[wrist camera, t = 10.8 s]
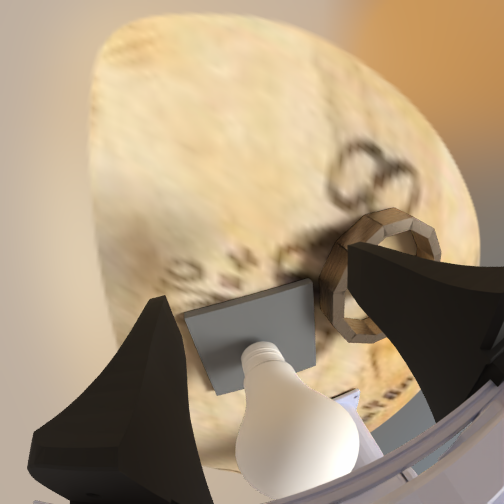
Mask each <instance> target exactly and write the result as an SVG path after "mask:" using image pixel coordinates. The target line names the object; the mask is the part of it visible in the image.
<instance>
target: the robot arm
mask: <svg viewBox="0 0 504 504" xmlns="http://www.w3.org/2000/svg"><path fill="white" fill-rule="evenodd" d="M347 252H348V267H347V288H348V290H349V291H350V293H351V294H352V296H353V298H354V299H355V300H356V302H357V303H358V305H359V306H360V307H361V308H362V310H363V311H364V312H365V313H366V314H367V315H368V316H369V317H370V319H371V320H372V321H373V322H374V323H375V324H376V325H377V326H378V327H379V329H380V330H381V331H382V332H383V333H384V334H385V335H386V336H387V338H388V339H389V340H390V341H391V342H392V344H393V345H394V346H395V347H396V349H397V350H398V352H399V353H400V355H401V356H402V358H403V359H404V361H405V362H406V364H407V365H408V367H409V369H410V370H411V372H412V374H413V376H414V377H415V379H416V381H417V383H418V384H419V386H420V388H421V390H422V392H423V394H424V396H425V398H426V400H427V403H428V405H429V407H430V409H431V412H432V414H433V416H434V419H435V422H436V424H435V425H434V426H432V427H430V428H429V429H428V430H426V431H424V432H423V433H421V434H420V435H418V436H417V437H416V438H414V439H412V440H410V441H409V442H407V443H406V444H404V445H402V446H401V447H399V448H397V449H395V450H394V451H392V452H390V453H388V454H386V455H385V456H384V455H383V453H382V452H381V450H380V449H379V447H378V445H377V444H376V442H375V440H374V439H373V437H372V436H371V434H370V432H369V431H368V429H367V427H366V426H365V424H364V423H363V421H362V419H361V418H360V416H359V415H358V413H357V411H356V409H357V405H358V400H359V396H360V390H359V389H355V390H352V391H350V392H348V393H346V394H343V395H341V396H339V397H336V398H334V399H332V400H334V401H336V402H337V403H339V404H340V405H341V406H342V407H343V408H344V409H345V410H347V411H348V412H349V414H350V416H351V417H352V419H353V421H354V422H355V424H356V427H357V430H358V434H359V451H358V457H357V460H356V463H355V466H354V467H353V469H352V470H351V472H350V473H348V474H346V475H344V476H341V477H339V478H337V479H334V480H332V481H329V482H327V483H324V484H322V485H319V486H317V487H314V488H311V489H308V490H305V491H303V492H300V493H297V494H293V495H290V496H287V497H284V498H280V499H277V500H273V501H270V502H266V503H262V504H504V267H477V266H465V265H456V264H450V263H444V262H438V261H434V260H429V259H425V258H421V257H417V256H413V255H410V254H406V253H403V252H399V251H396V250H392V249H389V248H385V247H382V246H378V245H374V244H370V243H366V242H357V243H354V244H350V245H347ZM471 422H472V423H471ZM470 423H471V424H470ZM468 424H470V425H469V426H468V427H467V428H466V429H465V430H464V431H463V432H462V433H461V434H460V435H459V437H458V438H457V440H456V441H455V442H454V443H453V444H452V445H451V446H450V448H448V450H446V451H445V453H443V454H442V455H441V456H440V457H439V458H438V462H437V463H436V464H434V465H433V466H432V467H430V468H429V469H428V470H426V471H424V472H423V473H421V474H420V475H417V474H416V473H415V471H414V470H413V469H412V468H411V466H413V465H414V464H416V463H417V462H419V461H420V460H422V459H423V458H425V457H426V456H428V455H429V454H431V453H432V452H434V451H435V450H436V449H438V448H439V447H440V446H442V445H443V444H445V443H446V442H447V441H449V440H450V439H451V438H453V437H454V436H455V435H456V434H458V433H459V432H460V431H461V430H462V429H464V428H465V427H466V426H467V425H468ZM27 469H28V471H29V473H30V474H31V476H32V477H33V478H34V479H35V480H36V481H38V482H39V483H41V484H42V485H44V486H46V487H47V488H48V489H50V490H52V491H54V492H55V493H57V494H59V495H61V496H63V497H64V498H66V499H68V500H70V504H214V503H213V500H212V497H211V495H210V491H209V489H208V486H207V483H206V479H205V476H204V473H203V469H202V466H201V462H200V458H199V455H198V451H197V447H196V443H195V438H194V434H193V429H192V424H191V420H190V412H189V402H188V387H187V369H186V357H185V351H184V345H183V339H182V335H181V333H180V331H179V328H178V326H177V323H176V321H175V319H174V316H173V314H172V311H171V309H170V306H169V303H168V301H167V298H166V296H165V295H164V296H160V297H156V298H152V299H150V300H149V301H148V303H147V304H146V306H145V308H144V309H143V311H142V313H141V315H140V316H139V318H138V320H137V322H136V323H135V325H134V327H133V328H132V330H131V332H130V333H129V335H128V336H127V338H126V339H125V341H124V342H123V344H122V345H121V347H120V348H119V350H118V351H117V353H116V354H115V356H114V357H113V358H112V360H111V361H110V362H109V364H108V365H107V366H106V367H105V369H104V370H103V371H102V372H101V374H100V375H99V376H98V377H97V378H96V379H95V380H94V381H93V382H92V383H91V385H90V386H89V387H88V388H87V389H86V390H85V391H84V392H83V393H82V394H81V395H80V396H79V397H78V398H77V399H76V400H75V401H73V402H72V404H70V405H69V406H68V407H67V408H66V409H64V410H63V411H62V412H61V413H59V414H58V415H57V416H56V417H54V418H53V419H52V420H50V421H49V422H47V423H46V424H45V425H43V426H42V427H40V428H39V429H37V430H36V431H34V433H33V438H32V443H31V449H30V454H29V460H28V466H27ZM33 504H50V503H45V502H41V501H36V500H35V501H34V502H33Z"/></svg>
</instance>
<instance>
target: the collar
mask: <svg viewBox="0 0 504 504" xmlns="http://www.w3.org/2000/svg"><path fill="white" fill-rule="evenodd" d="M408 230H411V232H412V235H413V237H414V240H415V242H416V245H417V254H416V256H417V257H421V258H425V259H429V260H434V261H438V262H440V259H441V249H440V246H439V242H438V239H437V236H436V233H435V229H434V228H432V227H431V226H429V225H427V224H425V223H424V222H422V221H420V220H418V219H416V218H415V217H413V216H411V215H409V214H407V213H405V212H403V211H401V210H398V209H396V208H390V209H386V210H382V211H378V212H374V213H370V214H366V215H364V216H363V217H362V218H361V219H360V220H359V221H357V222H356V223H355V224H354V225H353V226H352V227H351V228H350V229H349V230H348V231H347V232H346V233H344V234H343V235H342V236H341V237H340V238H339V239H338V240H337V241H336V242H337V243H336V242H335V244H334V246H333V248H332V250H331V253H330V255H329V257H328V259H327V261H326V263H325V266H324V268H323V270H322V272H321V274H320V276H319V293H320V309H321V310H322V312H323V313H324V314H325V316H326V317H327V318H328V320H329V321H330V322H331V324H332V325H333V326H334V327H335V328H336V330H337V331H338V332H339V333H340V334H341V335H342V336H343V337H344V338H345V339H346V340H347V341H348V342H349V343H375V342H377V341H379V340H381V339H383V338H386V337H387V336H386V335H385V334H384V333H383V332H382V331H381V330H380V329H379V327H378V326H377V325H376V324H375V323H374V322H373V321H372V320H371V319H370V317H369V318H366V319H364V320H358V319H350V318H344V303H345V291H346V289H347V267H348V252H347V245H350V244H354V243H357V242H366V243H370V244H374V245H378V244H379V243H380V242H381V241H383V240H384V239H385V238H386V237H388V236H392V235H395V234H398V233H401V232H405V231H408Z"/></svg>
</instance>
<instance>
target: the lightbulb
mask: <svg viewBox="0 0 504 504" xmlns="http://www.w3.org/2000/svg"><path fill="white" fill-rule="evenodd" d="M241 361H242V367H243V371H244V375H245V378H244V389H245V393H246V410H245V415H244V417H243V420H242V423H241V425H240V429H239V432H238V436H237V439H236V452H235V457H236V461H237V464H238V467H239V470H240V471H241V473H242V475H243V477H244V478H245V480H246V481H247V482H248V483H249V484H250V485H251V486H252V487H253V488H255V489H256V490H257V491H259V492H260V493H262V494H264V495H266V496H268V497H270V498H272V499H276V500H277V499H280V498H284V497H287V496H290V495H293V494H297V493H300V492H303V491H305V490H308V489H311V488H314V487H317V486H319V485H322V484H324V483H327V482H329V481H332V480H334V479H337V478H339V477H341V476H344V475H346V474H348V473H350V472H351V470H352V469H353V467H354V466H355V463H356V460H357V457H358V451H359V434H358V430H357V427H356V424H355V422H354V421H353V419H352V417H351V416H350V414H349V412H348V411H347V410H345V409H344V408H343V407H342V406H341V405H340V404H339V403H337V402H336V401H334V400H332V399H330V398H329V397H327V396H325V395H324V394H322V393H320V392H318V391H315V390H313V389H311V388H310V387H309V386H307V385H306V384H305V383H304V382H303V381H302V380H301V379H300V378H299V377H298V376H297V374H296V372H295V371H294V369H293V367H292V366H291V365H290V364H288V363H287V362H285V360H284V358H283V357H282V354H281V353H280V352H279V350H278V348H277V347H276V345H274V344H273V343H270V342H265V341H262V342H257V343H254V344H252V345H250V346H249V347H247V348H246V349H245V351H244V352H243V354H242V356H241Z"/></svg>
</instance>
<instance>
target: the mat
mask: <svg viewBox="0 0 504 504" xmlns="http://www.w3.org/2000/svg"><path fill="white" fill-rule="evenodd" d="M184 319H185V321H186V324H187V327H188V329H189V332H190V334H191V337H192V339H193V342H194V344H195V346H196V349H197V351H198V354H199V356H200V358H201V361H202V363H203V365H204V368H205V370H206V372H207V375H208V377H209V379H210V381H211V384H212V386H213V388H214V390H215V392H216V395H217V396H218V395H222V394H226V393H230V392H234V391H238V390H241V389H244V378H245V375H244V371H243V367H242V361H241V356H242V354H243V352H244V351H245V349H246V348H247V347H249V346H250V345H252V344H254V343H257V342H262V341H265V342H270V343H273V344H274V345H276V347H277V348H278V350H279V352H280V353H281V354H282V357H283V358H284V360H285V362H287V363H288V364H290V365H291V366H292V367H293V369H294V371H295V372H299V371H302V370H305V369H308V368H310V367H313V366H316V350H315V319H314V297H313V282H312V281H311V280H310V279H309V278H307V279H303V280H300V281H297V282H293V283H290V284H287V285H283V286H280V287H276V288H273V289H270V290H266V291H263V292H259V293H256V294H252V295H248V296H245V297H241V298H238V299H234V300H230V301H227V302H223V303H219V304H215V305H212V306H208V307H204V308H200V309H196V310H193V311H189V312H185V313H184Z"/></svg>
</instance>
